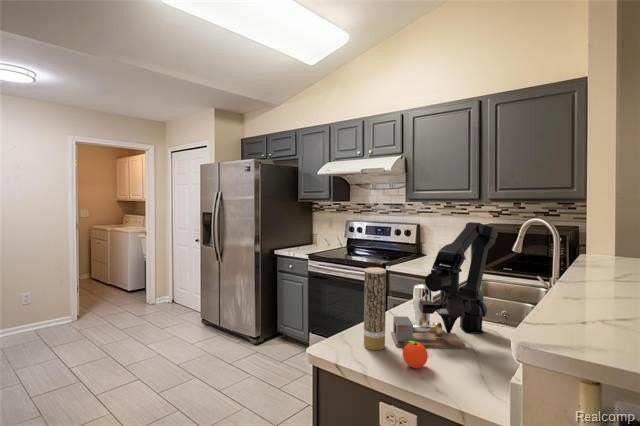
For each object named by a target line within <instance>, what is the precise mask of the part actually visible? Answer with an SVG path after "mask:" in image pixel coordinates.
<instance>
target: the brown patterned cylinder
mask: <svg viewBox="0 0 640 426" xmlns="http://www.w3.org/2000/svg"><path fill="white" fill-rule="evenodd" d="M363 281H364V283H363V284H364V285H363V286H364V287H363V290H364V293H363V296H364V297H363V302H364V303H363V346H364V347H365V348H366V349H369V350H371V351H380V350H383V349H384V348H385V347H386V346H385V345H386V307H387V306H386V305H387V296H386V295H387V269H385V268H383V267H366V268H364V280H363Z"/></svg>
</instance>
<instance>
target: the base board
mask: <svg viewBox="0 0 640 426" xmlns="http://www.w3.org/2000/svg"><path fill="white" fill-rule="evenodd" d="M390 335H391V337H392V340H393V342H394V344H395V347H396V348H404V347H405V346H406V345H407V344H408V343H397V341H396V339H395V336H394V334H393V331H391V332H390ZM413 341H415V342H418V343H420V344H422V345H423V346H424V347H425V349H429V348H432V349H433V348H434V349H462V350H463V349H464V350H465V349H466V348H467V345H466V344H465V343H464V342H463V341H462V339H461V338H460V337H459V336H458V335H457V333H455V332H450V333H447V332H443V334H442V337H434V335H433V333H413ZM404 344H405V345H404Z"/></svg>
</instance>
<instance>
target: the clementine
mask: <svg viewBox="0 0 640 426" xmlns="http://www.w3.org/2000/svg"><path fill="white" fill-rule="evenodd" d="M407 342H410V343H408V344H407V345H406V346H405V347H403V349H402V357H403V361H404V362H405V364H406V365H407V366H409V367H410V368H413V369H421V368H422V367H424V366H425V365H426V364H427V362H428V358H429V355H428V351H427V348H425V347H424V346H423V345H422V344H420V343H418V342H415V341H407ZM405 343H406V342H405ZM404 345H405V344H404Z"/></svg>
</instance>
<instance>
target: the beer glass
mask: <svg viewBox="0 0 640 426" xmlns="http://www.w3.org/2000/svg"><path fill="white" fill-rule="evenodd" d="M412 292H413V295H412V296H413V297H412V301H413V309H414V322H413V325H416V326H432V324H431V314H424V313H422V312H421V310H420V309H419V302H420V301H432V302H433V300H434V298H433V296H434V294H433V293H434V292H432V291H430V290H429V289H428V288H427V287H426V284H425V283H424V284H421V283H418V284H414V286H413V291H412Z"/></svg>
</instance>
